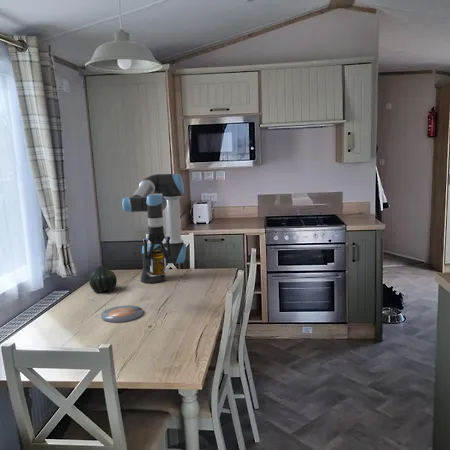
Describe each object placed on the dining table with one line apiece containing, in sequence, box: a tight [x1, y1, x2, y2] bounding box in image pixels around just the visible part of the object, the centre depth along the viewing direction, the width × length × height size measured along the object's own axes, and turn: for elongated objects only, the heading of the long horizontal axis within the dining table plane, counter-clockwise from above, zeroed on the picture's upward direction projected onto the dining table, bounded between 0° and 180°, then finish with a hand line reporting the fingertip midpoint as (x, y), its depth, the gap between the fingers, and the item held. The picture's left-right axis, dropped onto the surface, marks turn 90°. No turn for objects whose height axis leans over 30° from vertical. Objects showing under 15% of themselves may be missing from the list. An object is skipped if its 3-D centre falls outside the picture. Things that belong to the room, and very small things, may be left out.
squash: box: [88, 265, 118, 293], centre depth 260 cm, size 14×15×15 cm
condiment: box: [147, 250, 168, 277], centre depth 228 cm, size 7×8×12 cm
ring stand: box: [100, 304, 144, 323], centre depth 221 cm, size 20×20×1 cm
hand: (158, 270), depth 229 cm, fingers closed on condiment, 6 cm apart
